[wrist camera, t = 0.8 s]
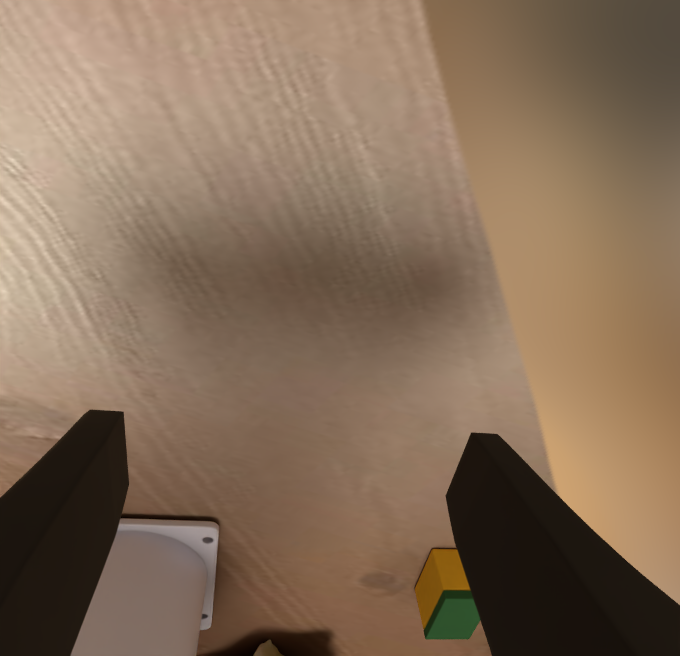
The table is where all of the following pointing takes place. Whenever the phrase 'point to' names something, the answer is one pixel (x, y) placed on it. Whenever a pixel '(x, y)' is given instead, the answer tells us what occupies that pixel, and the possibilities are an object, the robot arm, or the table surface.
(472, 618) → the sponge
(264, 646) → the fruit
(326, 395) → the table surface
